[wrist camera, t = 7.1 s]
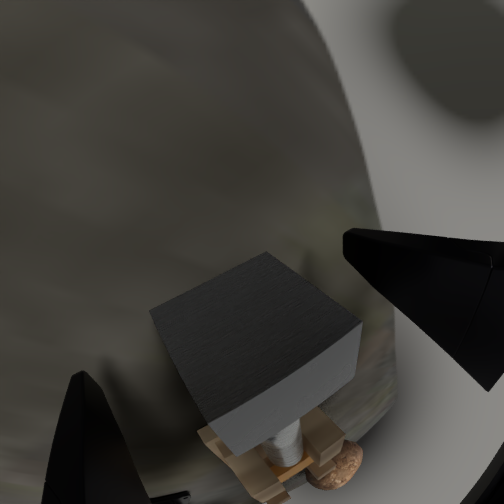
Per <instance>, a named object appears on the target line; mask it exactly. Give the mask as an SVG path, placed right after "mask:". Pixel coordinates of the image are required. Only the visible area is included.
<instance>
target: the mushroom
mask: <svg viewBox="0 0 504 504" xmlns="http://www.w3.org/2000/svg"><path fill="white" fill-rule="evenodd" d="M362 455H363V450H362V448H361V447H360V446H359V445H358V444H357V443H356V442H353V441H349V440H344V442H343V445H342V448H341V451H340V452H339V453H338V454H337V455H336V456H334V457H333V458H332V460H333V462H334V463H335V464H336V467H335V469H333V470H332V471H331V472H329V473H328V474H326V475H325V476H324V477H322V478H321V479H319V480H317V479H316V477H315V476H314V475H313V474H312V473H311V472H310V471H309V470H308V469H307V468H306V469H305V474H306V480H307V481H308V482H309V483H310V484H311V485H312V486H314V487H315V488H318V489H322V490H333V489H337V488H339V487H341V486H343V485H344V484H346V483H347V482H348V481H349V480H350V479H351V478H352V476H353V475H354V473H355V472H356V471H357V469H358V467H359V466H360V464H361V462H362Z"/></svg>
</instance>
